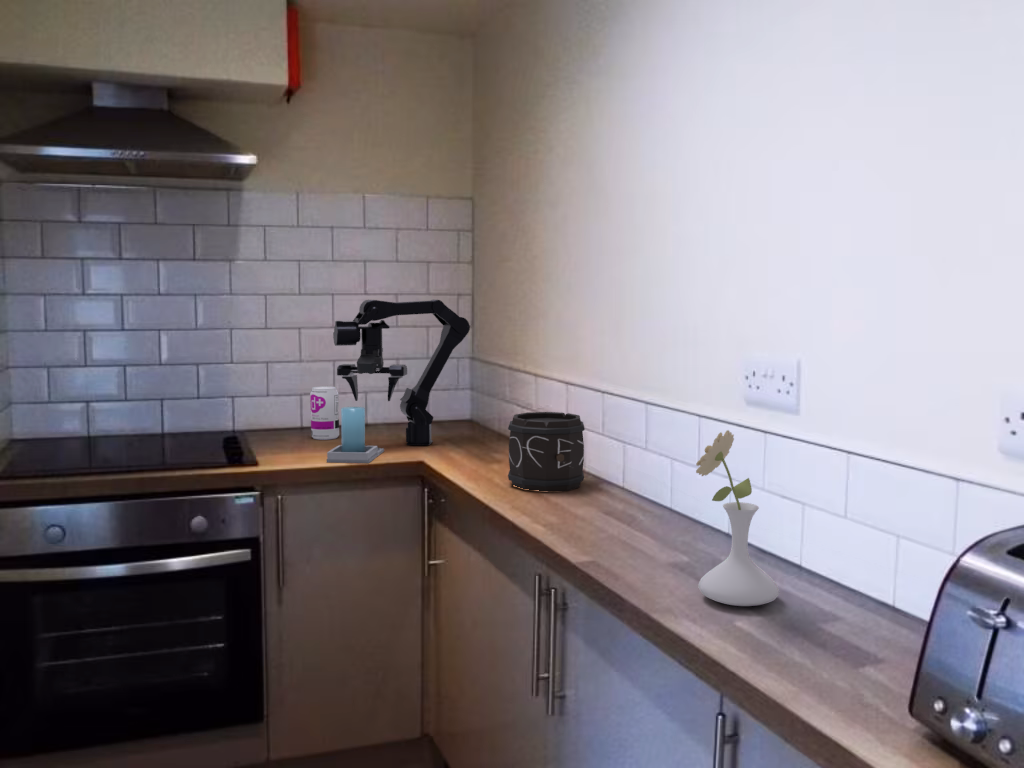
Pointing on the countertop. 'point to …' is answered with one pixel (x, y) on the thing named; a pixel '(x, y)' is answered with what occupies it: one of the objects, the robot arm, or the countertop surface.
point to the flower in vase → (734, 541)
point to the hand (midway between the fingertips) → (372, 400)
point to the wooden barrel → (546, 451)
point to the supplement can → (324, 413)
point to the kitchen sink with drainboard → (353, 455)
